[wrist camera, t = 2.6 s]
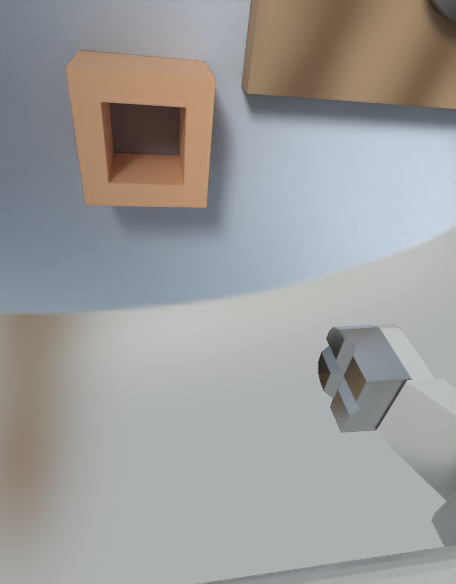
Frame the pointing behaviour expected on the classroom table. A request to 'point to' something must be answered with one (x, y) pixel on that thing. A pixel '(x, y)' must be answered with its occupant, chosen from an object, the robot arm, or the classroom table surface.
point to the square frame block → (145, 91)
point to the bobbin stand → (353, 51)
